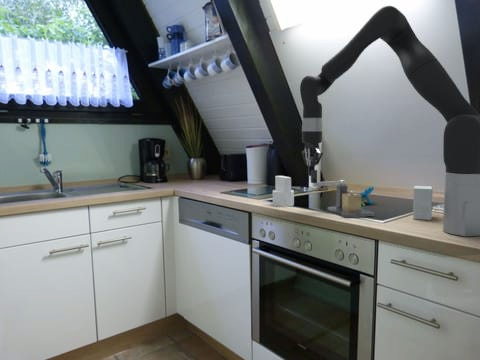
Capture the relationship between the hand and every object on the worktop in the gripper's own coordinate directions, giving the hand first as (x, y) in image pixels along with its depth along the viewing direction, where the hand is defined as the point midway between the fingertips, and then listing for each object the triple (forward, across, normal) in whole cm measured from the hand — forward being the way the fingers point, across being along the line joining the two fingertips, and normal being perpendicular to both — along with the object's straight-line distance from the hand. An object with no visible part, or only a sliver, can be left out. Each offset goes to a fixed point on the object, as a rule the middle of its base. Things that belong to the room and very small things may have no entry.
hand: (311, 175), depth 137 cm
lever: (+4, -4, -6) cm, 8 cm away
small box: (+13, -27, -28) cm, 41 cm away
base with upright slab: (+14, +15, +5) cm, 21 cm away
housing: (+12, -12, -10) cm, 20 cm away
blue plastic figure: (+14, +3, -26) cm, 30 cm away
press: (+13, -11, -10) cm, 20 cm away
